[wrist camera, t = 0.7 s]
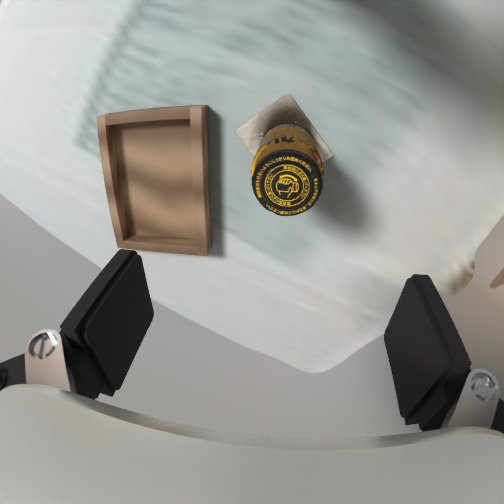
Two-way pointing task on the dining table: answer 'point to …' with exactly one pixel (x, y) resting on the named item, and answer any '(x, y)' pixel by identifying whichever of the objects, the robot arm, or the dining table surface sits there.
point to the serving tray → (158, 178)
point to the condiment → (285, 158)
